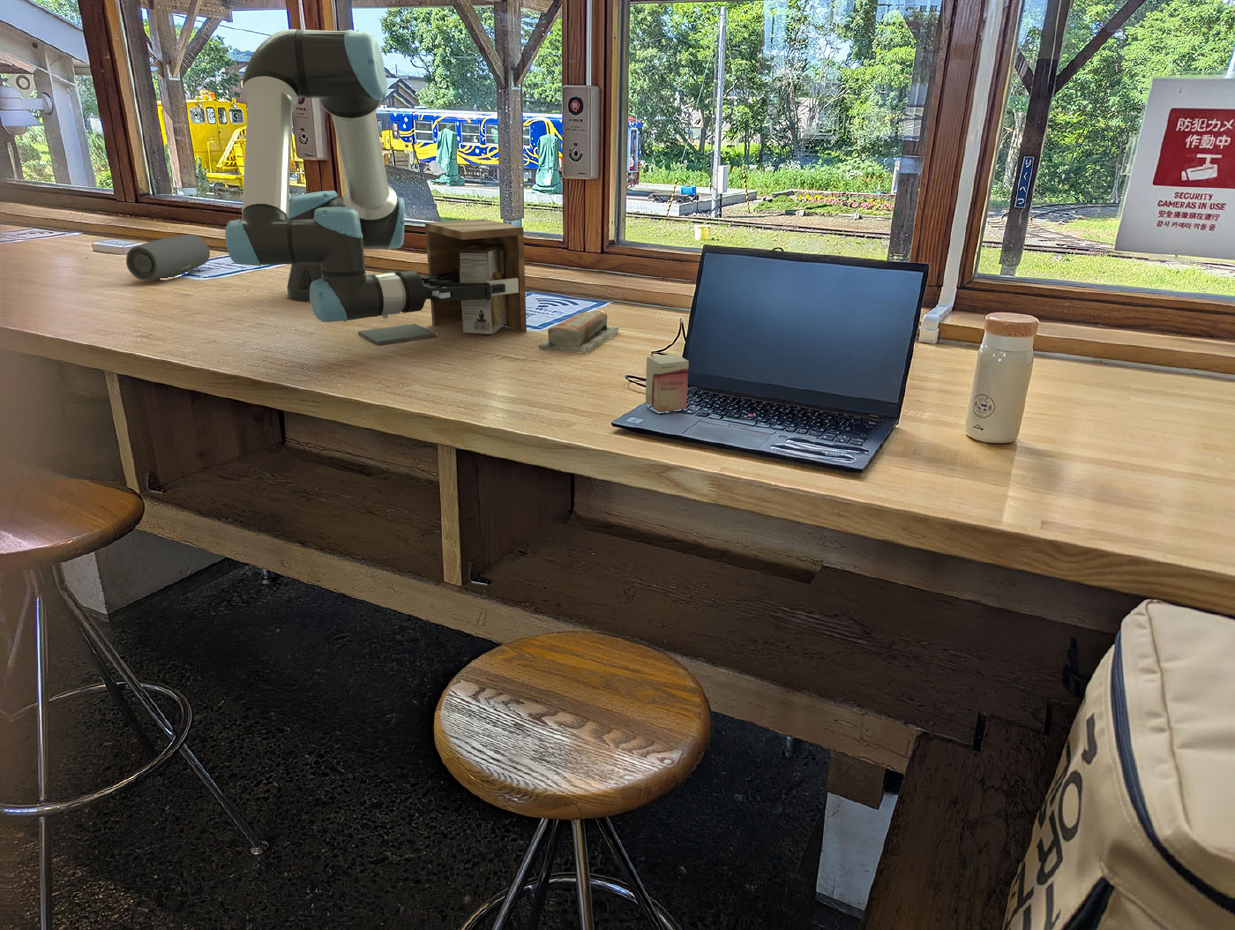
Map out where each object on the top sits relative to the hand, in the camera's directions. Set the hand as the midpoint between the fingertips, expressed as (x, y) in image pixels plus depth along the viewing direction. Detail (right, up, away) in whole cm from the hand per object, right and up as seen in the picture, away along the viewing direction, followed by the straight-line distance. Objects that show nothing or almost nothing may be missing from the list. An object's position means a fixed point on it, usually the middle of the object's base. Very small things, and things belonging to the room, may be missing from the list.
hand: (503, 280), depth 172 cm
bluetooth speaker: (-93, +12, +53) cm, 108 cm away
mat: (-21, -11, -2) cm, 23 cm away
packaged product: (+15, -13, -4) cm, 21 cm away
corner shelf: (-6, -9, +4) cm, 11 cm away
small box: (+30, -29, -42) cm, 59 cm away
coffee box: (-4, -10, +1) cm, 10 cm away
